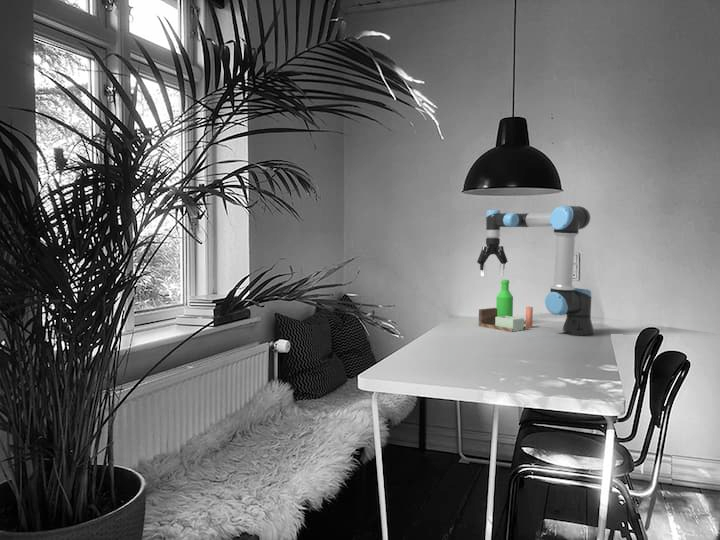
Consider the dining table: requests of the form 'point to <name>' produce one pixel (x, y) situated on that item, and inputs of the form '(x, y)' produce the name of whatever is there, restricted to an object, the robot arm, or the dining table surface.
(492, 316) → the channel board
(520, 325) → the socket block
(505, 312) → the bottle
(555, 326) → the dining table surface
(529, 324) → the dowel
